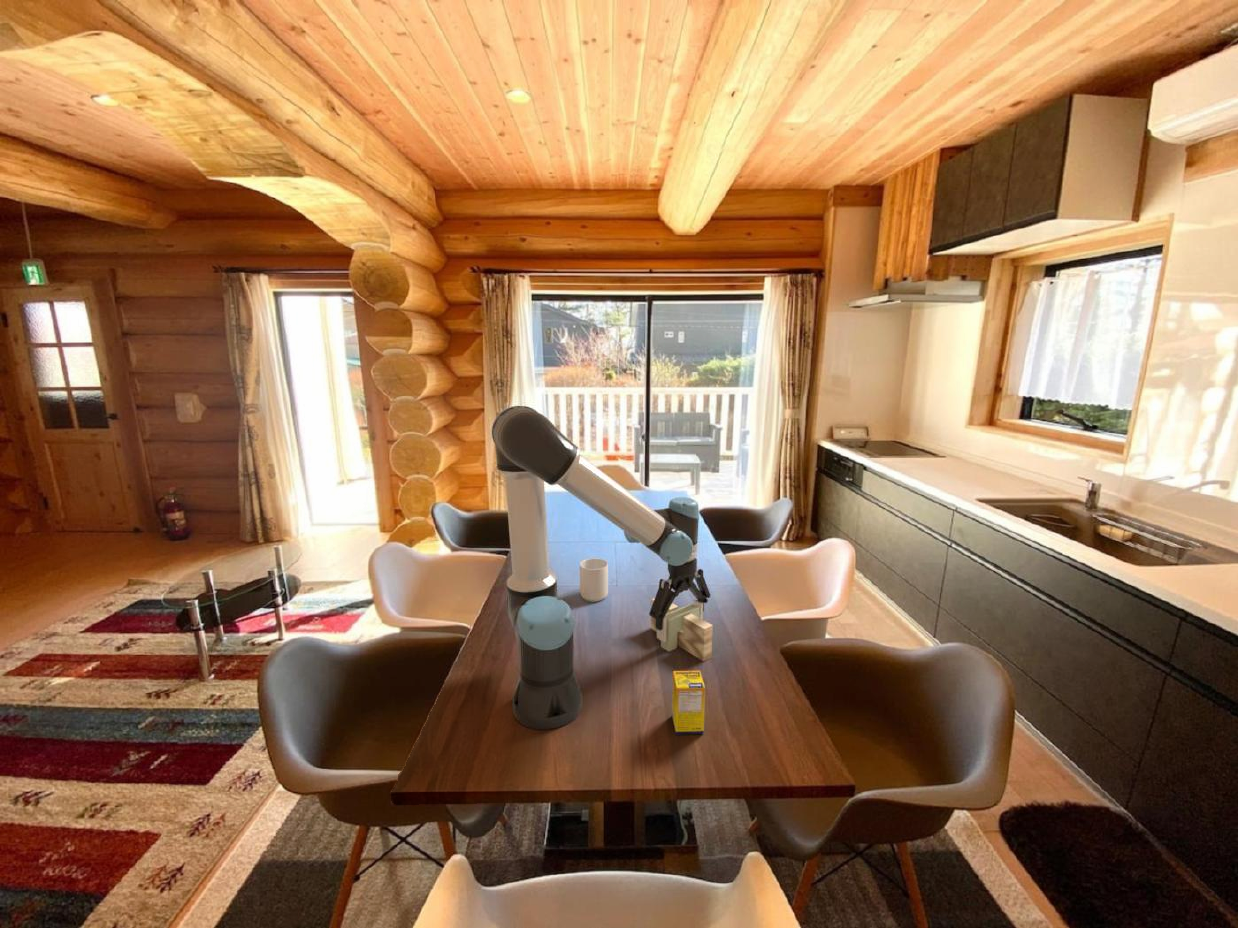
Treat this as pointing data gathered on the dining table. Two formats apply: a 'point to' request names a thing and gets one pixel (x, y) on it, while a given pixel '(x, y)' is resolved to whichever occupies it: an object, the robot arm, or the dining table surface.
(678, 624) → the sage plate
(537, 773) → the dining table surface
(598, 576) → the mug
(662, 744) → the dining table surface
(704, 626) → the birch board
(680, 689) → the supplement box
